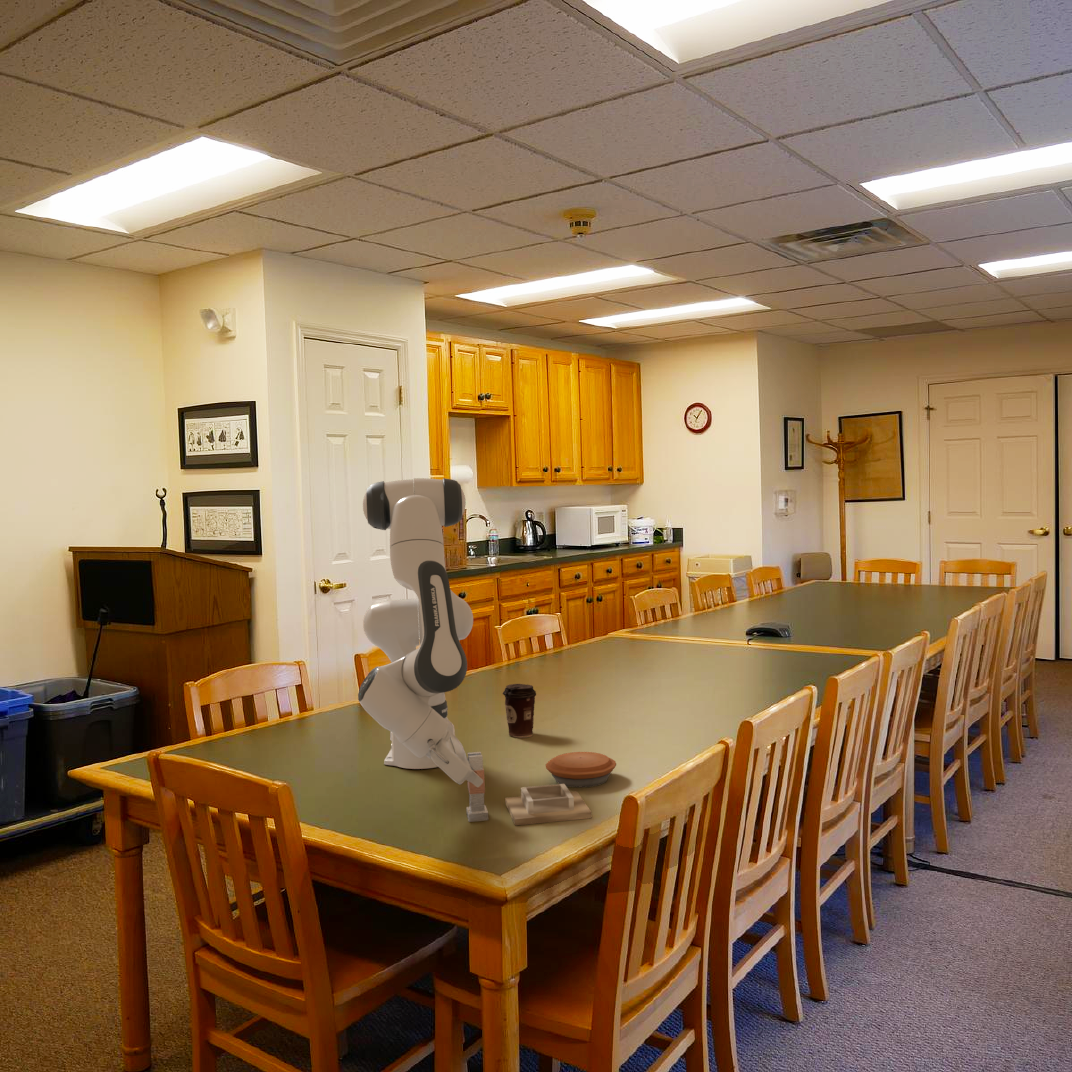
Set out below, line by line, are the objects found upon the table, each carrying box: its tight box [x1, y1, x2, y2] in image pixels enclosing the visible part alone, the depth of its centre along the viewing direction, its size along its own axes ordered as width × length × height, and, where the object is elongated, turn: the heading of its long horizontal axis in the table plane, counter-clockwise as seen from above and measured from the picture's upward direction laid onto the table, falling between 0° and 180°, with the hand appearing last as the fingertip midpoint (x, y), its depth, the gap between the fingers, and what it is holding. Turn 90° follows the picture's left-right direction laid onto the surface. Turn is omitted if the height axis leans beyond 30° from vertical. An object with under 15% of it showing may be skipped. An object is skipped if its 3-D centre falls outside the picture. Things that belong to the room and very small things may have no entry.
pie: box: [545, 751, 617, 788], centre depth 209 cm, size 15×16×5 cm
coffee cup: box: [502, 683, 537, 739], centre depth 248 cm, size 9×8×13 cm
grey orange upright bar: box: [465, 751, 489, 823], centre depth 186 cm, size 4×4×12 cm
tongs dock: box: [504, 783, 592, 826], centre depth 189 cm, size 13×15×4 cm
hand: (479, 779), depth 187 cm, fingers closed on grey orange upright bar, 4 cm apart
